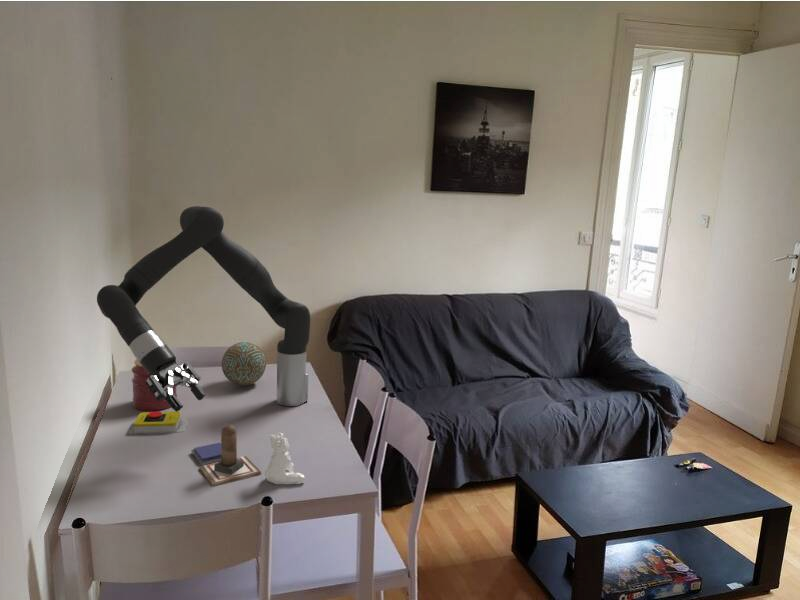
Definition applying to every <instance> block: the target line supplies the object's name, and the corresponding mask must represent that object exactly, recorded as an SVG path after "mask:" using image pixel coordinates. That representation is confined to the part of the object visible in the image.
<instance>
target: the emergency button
mask: <svg viewBox="0 0 800 600" xmlns="http://www.w3.org/2000/svg"><path fill="white" fill-rule="evenodd" d="M188 422H189V419H187V418H182V417H181V412H180V411H177V412H176V411H158V410H155V411H144V412H140V413H139V414H138V416H137V417H136V420H135V421H134V422H133V423H132V425H131V427H130V429H129V430H128V434H130V435H134V434H133V433H144V434H166V433H167V434H168V433H169V434H170V433H172V434H173V433H184V432H185V431H186V429H187V425H188Z"/></svg>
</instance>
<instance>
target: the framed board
mask: <svg viewBox="0 0 800 600" xmlns="http://www.w3.org/2000/svg"><path fill="white" fill-rule="evenodd" d="M237 459H239V460H243V461H244V466H243V467H242V468H240V469H239V470H238V471H236V472H235V473H234V474H232V475H231V474H226V473H222V472H218V471H214V465H215V464H217V463H218V462H215V463H210V464H206V465H202V466H201V465H200V466H199V467H198V469H199V471H200V472H201V473H202V474H203V476H204V478H206V479H207V481H208V482H209V483H210V484H211V486H212V487H215V486H219V485H223V484H227V483H231V482H234V481H239V480H242V479H243V480H244V479H247V478H251V477H255V476H258V475H262V471H261V470H260V469H259V468H258V467H257V466H256V465H255V464H254V462H252V461H251V460H250V459H249V458H248V457H247V456H246V455H244V456H239V457H237Z"/></svg>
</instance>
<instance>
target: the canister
mask: <svg viewBox="0 0 800 600" xmlns="http://www.w3.org/2000/svg"><path fill="white" fill-rule="evenodd" d="M133 364H135V365H134V366H132V368H131V372H132V373H133V376H132V379H131V382H132V403H133V407H134V408H135V409H137V410H139V411H145V410H146V411H145V412H156V411H161V410H166V409H168V408H172V407H171V406H170V405H169V403H168V402H167V401H165V400H160V401H158V400H157V399H156V398H155V397H154V395H153V394H152V392H151V391H150V389H149V388H148V386H147V385H146V384H145V381H146V380H147V379H148V378H149V377H150V375H149V374H148V373H147V372H146V370H145V369H144V368H143V366H142V365H141V364H140V362H139V361H138V360H137V358H136V359H135V360H134V362H133ZM160 385H161V384H160ZM172 389H173V395H175V396H176V397H177V398H178V393H177V386H174V387H173V388H172ZM157 392H158V393H159V391H158V390H157ZM159 394H160V393H159Z"/></svg>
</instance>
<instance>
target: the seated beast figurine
mask: <svg viewBox="0 0 800 600" xmlns="http://www.w3.org/2000/svg"><path fill="white" fill-rule="evenodd" d="M288 440H289V439H288V437H287V438H286V437H285V436H284V433H282V432H281V431H280V432H277V433H275V434H270V437H269V441H270V445H271V448H272V449H273V453H272V454H271V456H270V460H269V463H268V465H267V467H266V470H264V476H265V478H266V480H267V481H268V482H270V483H271V484H273V483H274V485H276V484H277V485H279V484H281V485H285V484H284V483H299V482H304V483H305V481H306V480H305V474H302V473H301V472H294V468H295V465H294V462H292V461H291V460H292V458H291V456H290V453H289V450H288V449H289V448H290V444H289V441H288Z"/></svg>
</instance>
